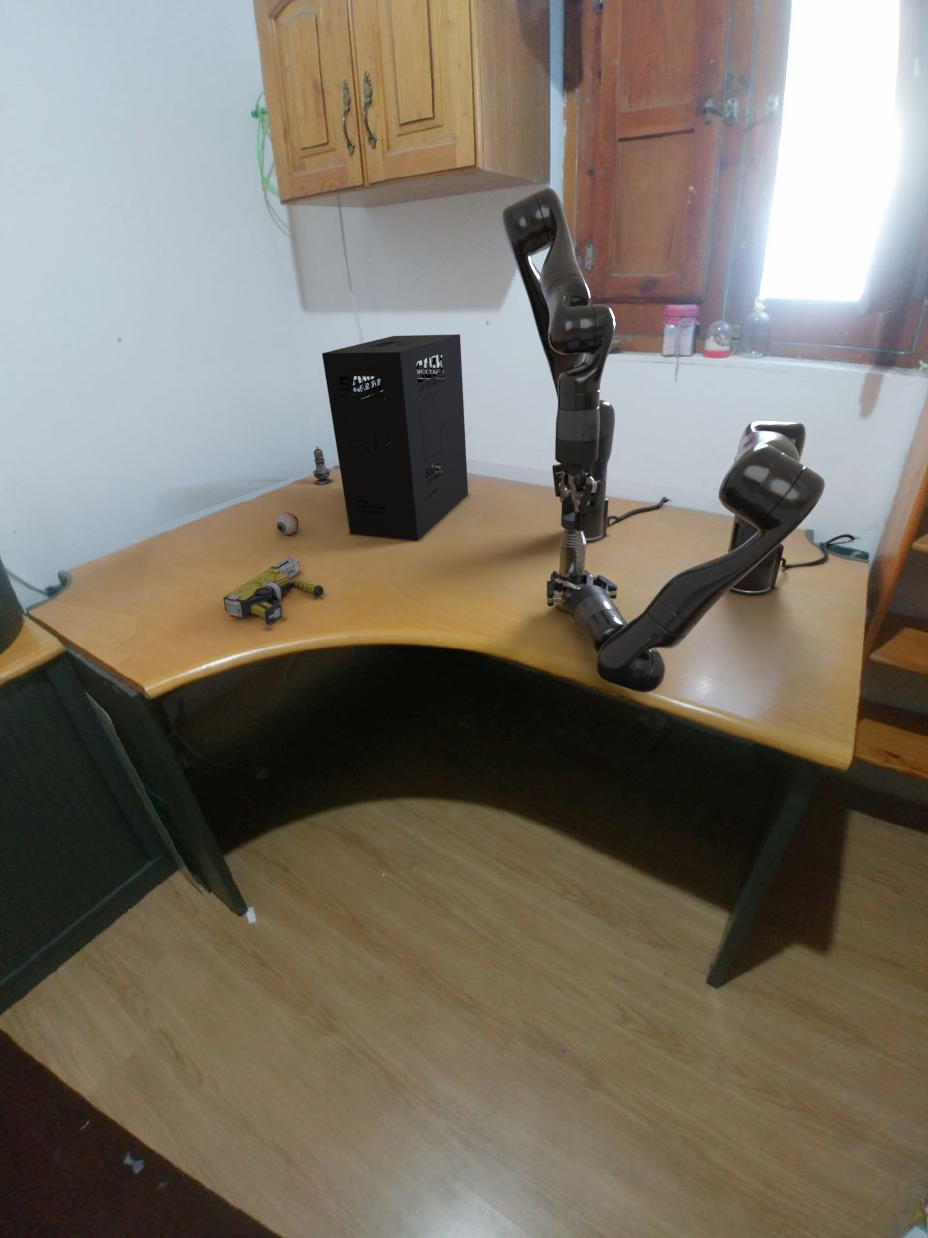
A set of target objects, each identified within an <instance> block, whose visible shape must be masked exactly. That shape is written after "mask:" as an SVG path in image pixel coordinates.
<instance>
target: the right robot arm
mask: <svg viewBox="0 0 928 1238" xmlns="http://www.w3.org/2000/svg"><path fill="white" fill-rule="evenodd" d="M806 431H807V430H806V427H805V425H804V424H803V423H801V422H798V421H797V422H795V421H774V420H773V421H771V420H757V421H756V420H755V421H751V422H750V423H749V424H748V425H747V426H746V427H745V428H744V430H743V432H742V434H741V436H740V439H739V442H738V447H737V452H736V455H735V457H734V460H733V463H732V465H731V466H730V467H729V469H728V470H727V472H726V474H725V475H724V477H723V479H722V481H721V484H720V486H719V489H718V500H719V503H721V505H722V506H723V507H724V508H725V509H726V510H727V511H729V512H730V513H732V514H734V516H733V522H732V526H731V531H730V537H729V543H728V549H727V553H725V554H722V555H721V556H719V557H716V558H713V559H711V560H707V561H705V562H702V563H700V564H696V565H694V566H691V567H689V568H687V569H685V570H682V571H680V572H679V573H677V574H676V575H674V576H673V577H671V578H670V579H669V580H668V581H667V582H666V583H665V584H664V585H663V587H661V589H660V590H659V591H658V592H657V594H656V595H655V596H654V597H653V598H652V600H651V601H650V602H649V604H648V605H647V606H646V607H645V609H644V610H643V612H641V614H639V615H638V616H636V617H635V618H633V619H632V620H630V621H629V622H627V621H626V620H625V619H624V617H623V616H622V614H621V612H620V610H619V608H618V607H617V605H616V604H615V602H613V600H615V599H617V598H618V597H617V596H618V595H617V594H618V585H617V584H616V583H614V582H613V581H612V580H610V579H609V578H607V577H605V576H604V575H603V574H598V575H596V576H594V575H593V574H590V572H589V571H588V570H587V569H584V584H580V585H574V584H572V583H570V582H569V581H563V580H562V579H561V577H560V576H559V572H558V571H557V570H553V571H552V573H550V580H547V581H546V604H547V606H548V607H554V605H555V603H557V604H558V603H562V604H563V605H564V606H566V607H567V608H568V611H569V612H568V611H567V612H568V613H569V615H570V616H571V618H572V620H573V621H574V623H575V626H577V627H578V629H579V631H580V633H581V634H582V635H583V636H584V637H585V638H586V640H587V641H588V643H589V644H590V646H591V648H592V649H593V651H594V652H595V653H596V654H597V655H596V657H595V671H596V673H597V675H598V676H599V677H600V678H601V679H602V680H604V681H606V682H608V683H611V684H613V685H617V686H619V687H622V688H625V689H627V690H631V691H633V692H637V693H643V694H645V693H650V692H653V691H656V690H657V689H659V687H660V686H661V685H662V683H663V681H664V680H665V677H666V664H665V661H664V658H663V657H662V655H661V652H659V651H658V649H659V648H660V649H674V648H676V647H678V646H679V645H680V644H681V643H682V642H683V641H684V640H685V639H686V638H687V636H689V634H690V633H691V632H692V631H693V629H694V628H695V627H696V626H697V625H698V623H700V621H701V620H702V619H703V618H704V617H705V616H706V614H708V612H709V611H710V610H711V609H712V608H713V606H715V605H716V603H718V602H719V601H720V599H722V598H723V597H724V596H725V595H726V594H727V593H728V592H729V591H732V592H735V593H740V594H743V595H744V594H745V595H760V594H765V593H767V592H769V591H770V590H772V589H775V587H776V583H777V579H778V575H779V572H780V571H779V570H780V566H781V567H782V568H784V569H789V568H797V567H799V568H800V567H809V566H814V565H817V564H819V563H822V562H823V561H825V560H827V559H828V557H829V551H828V548H827V547H828V545H829V544H831V543H833V542H835V541H837V540H839V539H843V538H849V539H850V540H852V541H854V540H855V537H854V536H853V535H852V534H849V533H844V534H840V535H837V536H835V537H833V538H831V539H829V540H827V541H825V542H824V543H823V544H822V550H823V553H824V554H823V557H821V558H818V559H816V560H813V561H809V562H805V563H799V564H787V559H786V558H785V557H783V553H784V549H785V545H783V543H782V542H783V541H784V540H785V539H787V537H789V536H790V535H791V534H792V533H793V532H794V531H795V530H796V529H797V528H798V527H799V526H800V525H801V524H802V523H803V522H804V521H805V519H807V517H808V516H809V515H810V514H811V513H812V511H813V510H814V508H815V507H816V506H817V504H818V503H819V501H820V500H821V498H822V497H823V494H824V491H825V488H826V482H825V479H824V478H823V477H822V476H821V475H820V474H818V473H817V472H816V471H814V470H812V469H810V468H809V467H807V466H806V465H804V464H803V463H801V459H802V456H803V452H804V448H805V444H806V438H807V437H806V436H807V432H806ZM559 594H560V595H561V596H559Z"/></svg>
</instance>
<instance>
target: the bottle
mask: <svg viewBox="0 0 928 1238" xmlns="http://www.w3.org/2000/svg"><path fill="white" fill-rule="evenodd" d="M559 540H560V541H559V562H558V566H559V567H558V574H559V576H560V577H561V579H562V580H563V581H569V582H570V583H572V584H574V585H580V584H584V570H586V569H585V566H586V547H587V541H586V539H585V536H584V533H583V531H576V530H569V529H565V528H564V530H563V531H562V534H561V538H560V539H559ZM558 595H559V596H561V595H560V594H558ZM557 607H558V609H560V610H562V611H564V612H568V613H569V611H568V608H567V607H566V606H564V605H563V604H562V603H557Z"/></svg>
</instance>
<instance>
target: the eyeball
mask: <svg viewBox="0 0 928 1238" xmlns="http://www.w3.org/2000/svg"><path fill="white" fill-rule="evenodd" d="M299 525H300V522H299V519H298V517H297V516H296V515H295V514H294V513H292V512H287V511H286V512H282V513H280V514H279V515H278V516H277V517H276V520H275V527H276V529H277V530H278V531H279V532H280V533H281V534H282V535H285V536H286V535H287V536H289V535H293V534H295V533H296V532H297V531H298V529H299Z"/></svg>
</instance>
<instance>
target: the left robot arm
mask: <svg viewBox="0 0 928 1238" xmlns="http://www.w3.org/2000/svg"><path fill="white" fill-rule="evenodd" d="M501 223H502V227H503V232H504V235H505V238H506V241H507V244H508V247H509V250H510V253H511V255H512V257H513V260H514V263H515V266H516V269H517V272H518V275H519V276H520V279H521V282H522V285H523V287H524V290H525V293H526V296H527V300H528V303H529V305H530V309H531V312H532V316H533V320H534V323H535V327H536V331H537V334H538V337H539V340H540V341H539V342H540V345H541V348H542V350H543V354H544V355H545V358H546V361H547V365H548V368H549V372H550V375H551V379H552V381H553V385H554V389H555V393H556V398H557V411H556V417H555V442H554V443H555V444H554V460H555V461H556V462H557V463H558V464H553V465H552V466H551V469H552V478H553V485H554V494H555V495H554V496H555V497H556V498H558V497H559V502H560V503H561V513H560V514H561V516H560V518H562V515H563V514H566V513H572V512H575V517H574V529H575V530H576V531H583V533H584V536H585V539H586V542H594V541H599V540H600V539H602V538H604V536H607V530H608V529H607V528H608V527H610V521H611V520H615V521H622V520H624V519H626V518H628V517H629V516H631V515H633V514H636V513H640V512H647V511H652V510H656V509H658V508H660V507H661V506H662V505H663V504H664V502H669V498H667V499H666V498H665V497H666V496H663V497H662V498H661V499H660V501H659V502H658V503H657V504H654V505H651V506H644V507H639V508H635V509H632V510H630V511H627V512H626V513H624V514H623V515H620V516H617V515H608V514H609V498H607V497H606V493H607V477H608V465H609V460H610V459H611V456H612V451H613V443H614V435H615V426H616V413H615V408H614V406H613V404H612V403H611V402H609V401H608V400H604V399H600V397H601V384H602V383H601V382H602V378H603V373H604V370H605V366H606V362H607V360H608V356H609V353H610V351H611V347H612V344H613V341H614V338H615V332H616V319H615V315H614V313H613V311H612V309H611V307H609V306H608V305H606V304H602V303H597V304H590V302H591V292H590V289H589V286H588V284H587V282H586V280H585V277H584V275H583V273H582V271H581V268H580V266H579V263H578V260H577V256H576V252H575V246H574V242H573V239H572V234H571V231H570V227H569V224H568V220H567V217H566V213H565V209H564V207H563V204H562V201H561V199H560V196H559V195H558V193H557V192H556V190H554V189H553V188H551V187H545V188H544V187H543V188H541V189H539V190H536V191H534V192H532V193H530V194H529V195H527V196H524V197H522V198H520V199H519V200H515V202H513V203H511V204H509V205H507V206H505V207H504V208H503V210H502V212H501ZM548 249H549V250H548ZM546 250H548V251H547V254H546V256H545V259H544V261H543V263H542V267H541V270H538V268H537V266H536V265H535V264H534V262H533V261H532V257H533V256H535V255H537V254H539V253H541V252H544V251H546ZM665 499H666V500H665Z"/></svg>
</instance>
